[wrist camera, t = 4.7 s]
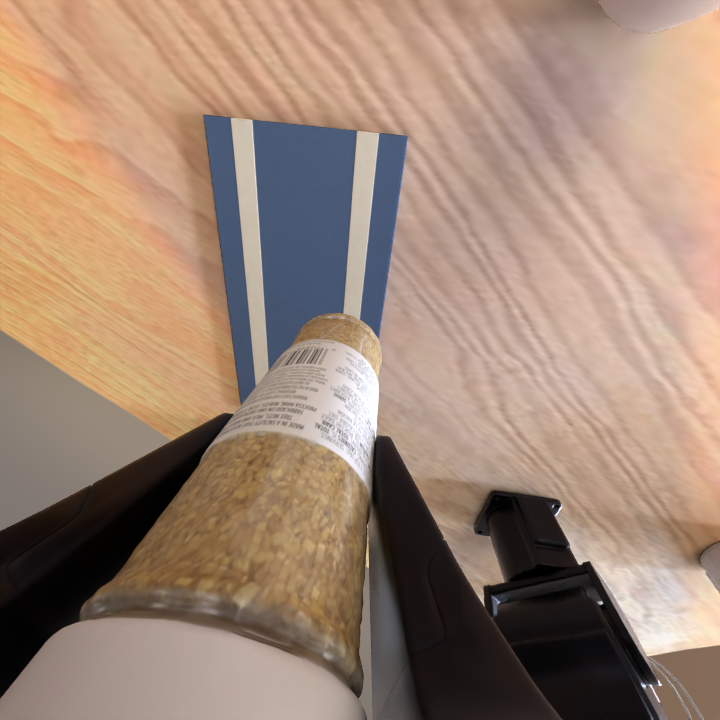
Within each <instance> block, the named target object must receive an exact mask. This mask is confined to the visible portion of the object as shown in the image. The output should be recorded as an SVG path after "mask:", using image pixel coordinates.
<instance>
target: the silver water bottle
mask: <svg viewBox="0 0 720 720" xmlns="http://www.w3.org/2000/svg"><path fill="white" fill-rule="evenodd" d="M598 1H599V4H600V6H601V7H602V9H603V10H604V12H605V13H606V15H607V16H608V17H609V18H610V19H611V20H612V21H613V22H615V23H616V24H617V25H618V26H619V27H621V28H624V29H627V30H629V31H632V32H637V33H654V32H660V31H666V30H668V29H671V28H674V27H676V26H679V25H682V24H684V23H687V22H689V21H691V20H694V19H696V18H699V17H701V16H704V15H706V14H709V13H711V12H714V11H716V10H718V9H719V8H720V0H598Z"/></svg>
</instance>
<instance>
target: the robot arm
mask: <svg viewBox="0 0 720 720" xmlns="http://www.w3.org/2000/svg"><path fill="white" fill-rule="evenodd" d="M233 415H234V414H229V413H223V414H221V415H219V416H217V417H215V418H214V419H212V420H210V421H208V422H206V423H204V424H203V425H201V426H199V427H197V428H195V429H193V430H191V431H190V432H188V433H186V434H184V435H182V436H180V437H178V438H177V439H175V440H173V441H171V442H169V443H167V444H166V445H164V446H162V447H160V448H158V449H156V450H154V451H153V452H151V453H149V454H147V455H145V456H144V457H141V458H140V459H138V460H136V461H134V462H132V463H130V464H128V465H127V466H125V467H123V468H122V469H119V470H117V471H116V472H114V473H112V474H110V475H108V476H106V477H104V478H103V479H101V480H99V481H97V482H95V483H94V484H93V485H92V486H88V487H86V488H84V489H82V490H80V491H78V492H76V493H75V494H73V495H71V496H69V497H67V498H65V499H63V500H61V501H59V502H57V503H56V504H54V505H52V506H50V507H48V508H46V509H44V510H42V511H40V512H38V513H36V514H34V515H32V516H30V517H28V518H26V519H24V520H22V521H20V522H18V523H16V524H14V525H12V526H10V527H8V528H6V529H4V530H1V531H0V699H1V697H2V696H3V695H4V694H5V692H6V691H7V690H8V689H9V687H10V686H11V685H12V684H13V682H14V681H15V680H16V679H17V677H18V676H19V675H20V674H21V672H22V671H23V670H24V669H25V668H26V666H27V665H28V664H29V663H30V661H31V660H32V659H33V658H34V656H35V655H36V654H37V653H38V651H39V650H40V649H41V648H42V646H43V645H44V644H45V643H46V641H47V640H48V639H49V638H51V637H52V636H53V635H54V634H55V633H57V632H58V631H59V630H61V629H62V628H64V627H67V626H69V625H72V624H74V623H77V622H79V619H80V611H81V608H82V606H83V605H84V603H85V602H86V601H87V600H89V599H90V598H91V597H93V595H94V594H95V593H96V592H97V591H98V590H99V589H100V588H101V587H102V586H104V585H105V584H107V583H109V582H110V581H112V580H113V579H114V577H115V576H116V575H117V574H118V572H119V571H120V570H121V569H122V568H123V567H124V565H125V564H126V562H127V561H128V560H129V558H130V557H131V555H132V553H133V551H134V550H135V549H136V547H137V546H138V545H139V543H140V542H141V541H142V540H143V539H144V537H145V536H146V535H147V533H148V532H149V530H150V529H151V528H152V527H153V526H154V524H155V523H156V521H157V519H158V518H159V517H160V516H161V514H162V513H163V512H164V511H165V509H166V508H167V507H168V505H169V504H170V503H171V502H172V500H173V499H174V498H175V496H176V495H177V494H178V492H179V491H180V489H181V488H182V486H183V485H184V484H185V482H186V481H187V480H188V479H189V478H190V476H191V475H192V473H193V472H194V471H195V470H196V468H197V467H198V466H199V464H200V460H201V458H202V456H203V454H204V453H205V451H206V450H207V449H208V447H209V446H210V445H211V443H212V442H213V441H214V440H215V438H216V437H217V436H218V435H219V433H220V432H221V431H222V429H223V428H224V427H225V426H226V424H227V423H228V422H229V420H230V419H231V418H232V417H233ZM561 508H562V504H561V502H560V501H559V500H557V499H551V498H544V497H537V496H530V495H523V494H516V493H509V492H502V491H493V492H492V493H491V494H490V496H489V498H488V500H487V502H486V504H485V506H484V508H483V510H482V512H481V514H480V516H479V518H478V520H477V522H476V525H475V527H474V531H475V533H476V534H478V535H484V536H490V537H491V540H492V543H493V547H494V550H495V553H496V556H497V559H498V563H499V566H500V569H501V572H502V575H503V579H504V582H505V583H501V584H497V585H493V586H490V585H487V586H483V589H484V603H485V607H484V606H483V604H482V602H481V601H480V599H479V598H478V596H477V595H476V593H475V591H474V590H473V588H472V587H471V585H470V583H469V582H468V580H467V579H466V577H465V575H464V573H463V572H462V570H461V568H460V566H459V564H458V563H457V561H456V559H455V557H454V556H453V554H452V552H451V550H450V548H449V546H448V544H447V542H446V541H445V540H443V539H444V537H443V535H442V533H441V531H440V530H439V528H438V526H437V524H436V522H435V520H434V518H433V516H432V515H431V513H430V511H429V509H428V507H427V505H426V503H425V501H424V500H423V498H422V496H421V494H420V492H419V490H418V488H417V486H416V485H415V483H414V481H413V479H412V477H411V475H410V473H409V472H408V470H407V468H406V466H405V464H404V462H403V460H402V458H401V457H400V455H399V453H398V451H397V449H396V447H395V445H394V443H393V442H392V440H391V438H390V437H388V436H381V435H378V436H377V437H376V441H375V457H374V474H373V492H372V506H371V515H370V518H369V521H368V538H369V581H370V623H371V665H372V666H371V667H372V709H373V720H668V719H667V717H666V715H665V713H664V711H663V709H662V708H661V706H660V704H659V702H658V700H657V698H656V696H655V695H654V693H653V691H652V689H651V687H650V686H661V683H660V681H659V679H658V677H657V675H656V673H655V671H654V669H653V667H652V665H651V663H650V661H649V659H648V657H647V656H646V654H645V652H644V650H643V648H642V646H641V644H640V642H639V640H638V638H637V636H636V634H635V633H634V631H633V629H632V627H631V625H630V623H629V621H628V620H627V618H626V616H625V615H624V613H623V611H622V610H621V608H620V606H619V605H618V603H617V601H616V600H615V598H614V596H613V595H612V593H611V591H610V590H609V588H608V587H607V585H606V584H605V582H604V581H603V579H602V578H601V577H600V575H599V574H598V572H597V571H596V570H595V568H594V567H593V565H592V564H591V562H590V561H588V562H583V564H582V565H579V564H578V563H577V561H576V559H575V557H574V555H573V553H572V551H571V550H570V548H569V546H570V544H569V542H568V540H567V538H566V536H565V534H564V533H563V531H562V529H561V527H560V525H559V523H558V522H557V520H556V518H555V516H556V515H557V514H558V512H559V511H560V509H561ZM600 601H602V602H603V604H601V605H599V604H598V602H600Z"/></svg>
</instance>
